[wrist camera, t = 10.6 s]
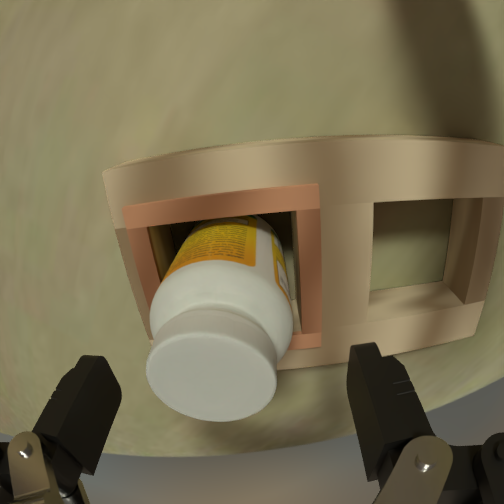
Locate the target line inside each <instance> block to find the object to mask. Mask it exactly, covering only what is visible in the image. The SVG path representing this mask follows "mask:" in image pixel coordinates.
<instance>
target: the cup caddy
mask: <svg viewBox="0 0 504 504" xmlns="http://www.w3.org/2000/svg"><path fill="white" fill-rule="evenodd" d="M102 174H103V179H104V184H105V189H106V194H107V198H108V203H109V207H110V211H111V215H112V219H113V224H114V227H115V231H116V235H117V239H118V243H119V247H120V250H121V254H122V257H123V261H124V264H125V268H126V271H127V274H128V278H129V281H130V284H131V288H132V291H133V294H134V297H135V300H136V303H137V306H138V309H139V312H140V315H141V318H142V321H143V324H144V326H145V329H146V332H147V335H148V337H149V340H150V343H151V346H152V345H153V341H154V339H153V336H152V333H151V328H150V308H151V304H152V301H153V298H154V295H155V293H156V291H157V289H158V287H159V286H160V284H161V282H162V280H163V279H164V277H165V275H166V273H167V271H168V270H169V268H170V266H171V264H172V262H173V261H174V259H175V257H176V252H175V248H174V243H173V238H172V234H171V229H170V224H172V223H180V222H189V221H197V220H206V219H215V218H224V217H233V216H243V215H253V214H263V213H273V212H284V211H290V213H291V227H292V242H293V258H294V275H295V294H296V300H291V307H292V315H293V334H292V338H291V342H290V345H289V347H288V349H287V351H286V353H285V354H284V356H283V357H282V359H281V360H280V361H279V362H278V363H277V370H285V369H295V368H305V367H313V366H322V365H330V364H337V363H344V362H349V353H350V347H351V345H356V344H363V343H370V342H375V343H376V344H377V346H378V348H379V350H380V353H381V355H382V356H386V355H392V354H397V353H402V352H407V351H412V350H416V349H421V348H426V347H430V346H434V345H438V344H443V343H447V342H451V341H455V340H458V339H462V338H466V337H470V336H473V335H474V334H475V331H476V328H477V325H478V322H479V319H480V315H481V312H482V309H483V305H484V302H485V298H486V294H487V291H488V287H489V283H490V279H491V275H492V270H493V266H494V261H495V256H496V251H497V246H498V240H499V235H500V228H501V222H502V215H503V207H504V146H503V145H499V144H495V143H491V142H487V141H482V140H478V139H469V138H456V137H440V136H417V135H343V136H319V137H302V138H288V139H276V140H265V141H255V142H246V143H237V144H229V145H221V146H213V147H206V148H199V149H193V150H186V151H180V152H174V153H168V154H163V155H157V156H152V157H146V158H141V159H136V160H131V161H127V162H124V163H122V164H119V165H117V166H115V167H112V168H110V169H108V170H105V171H103V172H102ZM449 198H453V206H452V217H451V226H450V235H449V243H448V250H447V257H446V263H445V269H444V275H443V280H442V281H438V282H431V283H425V284H418V285H412V286H405V287H398V288H391V289H383V290H376V291H370V278H371V263H372V243H373V205H374V202H388V201H406V200H426V199H449Z"/></svg>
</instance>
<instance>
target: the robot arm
mask: <svg viewBox="0 0 504 504" xmlns="http://www.w3.org/2000/svg"><path fill="white" fill-rule="evenodd" d="M346 382H347V394H348V399H349V403H350V407H351V411H352V415H353V419H354V423H355V427H356V431H357V436H358V440H359V444H360V449H361V453H362V457H363V462H364V467H365V471H366V476H367V480H368V482H369V481H374V480H378V481H379V486H380V491H379V493H378V495H377V497H376V498H375V500H374V502H373V503H372V504H504V433H497V434H494V435H492V436H491V437H489V438H488V439H487V440H486V442H485V443H484V444H483V445H473V446H452V445H448V444H447V443H446V442H445V441H444V440H442V439H440V438H438V437H436V435H435V434H434V433H433V431H432V429H431V427H430V424H429V422H428V419H427V417H426V414H425V412H424V409H423V407H422V405H421V402H420V400H419V398H418V396H417V393H416V392H415V389H414V387H413V384H412V382H411V381H410V378H409V376H408V373H407V371H406V369H405V367H404V365H403V364H401V363H400V362H399V361H398V360H397V359H396V358H395V357H394V356H393V355H392V356H387V357H382V355H381V353H380V350H379V348H378V346H377V344H376V343H375V342H370V343H363V344H356V345H351V347H350V353H349V362H348V371H347V381H346ZM121 398H122V392H121V388H120V385H119V383H118V381H117V380H116V378H115V376H114V374H113V372H112V370H111V368H110V366H109V364H108V362H107V360H106V359H105V358H104V357H103V356H92V355H83V356H82V357H81V358H80V359H79V361H78V362H77V364H76V366H75V367H74V368H72V369H71V370H70V371H69V372H68V373H67V374H65V375H64V376H63V377H62V379H61V380H60V382H59V384H58V385H57V387H56V391H54V392H53V394H52V396H51V399H49V401H48V403H47V405H46V406H45V408H44V410H43V412H42V414H41V415H40V417H39V419H38V421H37V423H36V425H35V427H34V428H33V430H32V432H29V431H26V432H21V433H19V434H17V435H16V436H15V437H14V438H13V439H12V440H11V442H0V486H1V487H0V504H90V502H89V499H88V497H87V494H86V491H85V489H84V486H83V483H82V481H81V480H80V479H79V477H80V474H81V473H85V474H89V475H94V473H95V470H96V467H97V464H98V461H99V458H100V456H101V453H102V450H103V448H104V445H105V442H106V439H107V437H108V434H109V431H110V429H111V426H112V424H113V421H114V418H115V416H116V413H117V411H118V408H119V406H120V403H121Z"/></svg>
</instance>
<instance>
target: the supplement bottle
mask: <svg viewBox="0 0 504 504" xmlns="http://www.w3.org/2000/svg"><path fill="white" fill-rule="evenodd" d="M150 328H151V333H152V336H153V339H154V341H153V345H152V347H151V350H150V353H149V356H148V358H147V363H146V376H147V380H148V382H149V385H150V387H151V388H152V390H153V392H154V393H155V394H156V395H157V397H158V398H159V399H160V400H161V401H163V402H164V403H165V404H166V405H167V406H169V407H170V408H172V409H173V410H175V411H177V412H179V413H181V414H184V415H186V416H189V417H192V418H195V419H199V420H205V421H214V422H228V421H234V420H240V419H243V418H246V417H249V416H251V415H253V414H255V413H257V412H259V411H260V410H262V409H263V408H264V407H265V406H266V405H267V404H268V403H269V402H270V401H271V400H272V398H273V396H274V394H275V391H276V387H277V363H278V362H279V361H280V360H281V359H282V357H283V356H284V354H285V353H286V351H287V349H288V347H289V345H290V342H291V338H292V334H293V315H292V307H291V300H290V294H289V287H288V280H287V273H286V266H285V260H284V255H283V250H282V245H281V242H280V240H279V237H278V236H277V234H276V232H275V231H274V229H273V228H272V227H271V226H270V225H269V224H268V223H267V222H266V221H265V220H263V219H262V218H260V217H259V216H257V215H255V214H253V215H243V216H233V217H224V218H215V219H206V220H200V221H199V222H198V223H197V224H196V225H195V226H194V227H193V229H192V230H191V232H190V233H189V235H188V236H187V238H186V240H185V241H184V243H183V245H182V246H181V248H180V250H179V252H178V253H177V255H176V257H175V259H174V261H173V262H172V264H171V266H170V268H169V270H168V271H167V273H166V275H165V277H164V279H163V280H162V282H161V284H160V286H159V287H158V289H157V291H156V293H155V295H154V298H153V301H152V304H151V308H150Z"/></svg>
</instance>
